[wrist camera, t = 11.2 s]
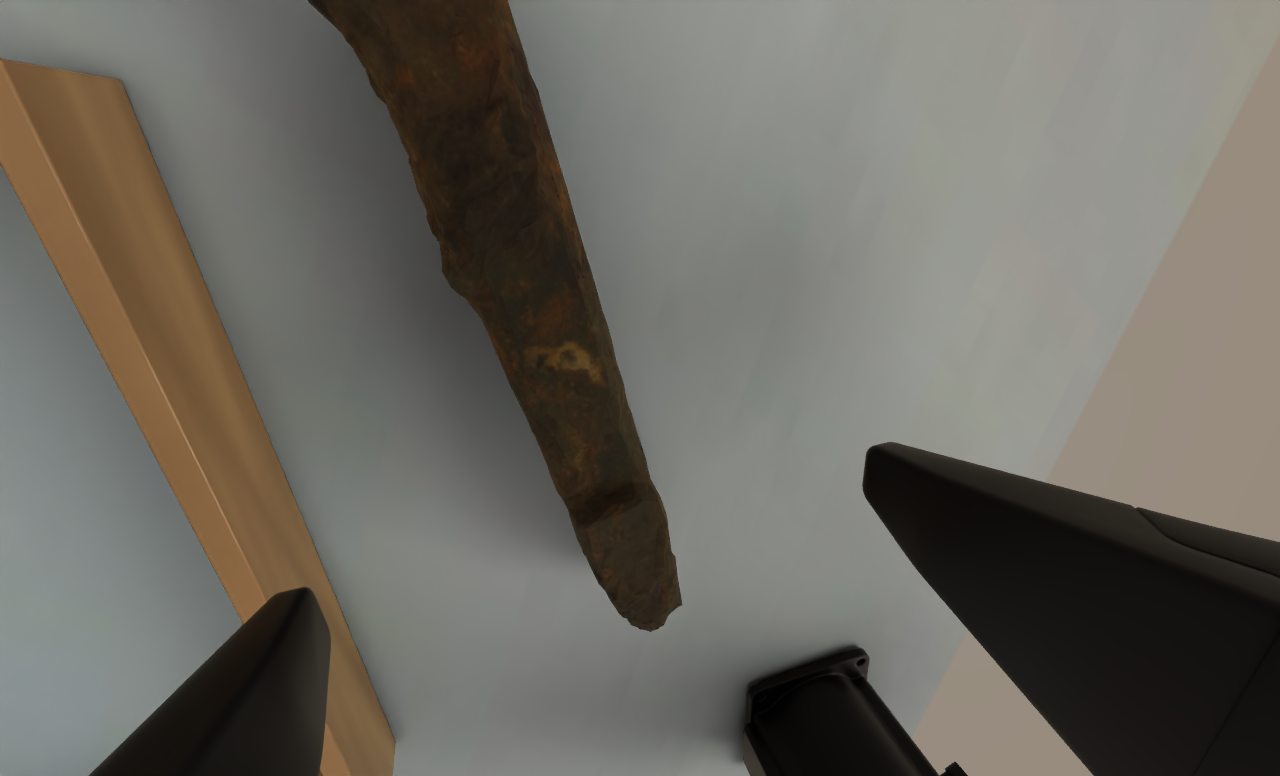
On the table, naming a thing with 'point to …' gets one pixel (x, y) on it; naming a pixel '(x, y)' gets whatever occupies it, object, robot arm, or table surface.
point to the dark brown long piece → (520, 266)
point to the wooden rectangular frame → (174, 362)
